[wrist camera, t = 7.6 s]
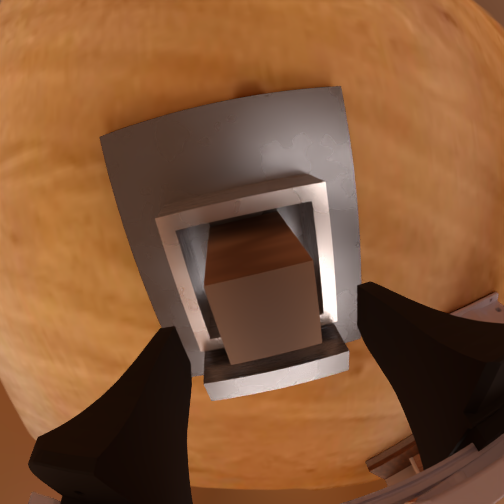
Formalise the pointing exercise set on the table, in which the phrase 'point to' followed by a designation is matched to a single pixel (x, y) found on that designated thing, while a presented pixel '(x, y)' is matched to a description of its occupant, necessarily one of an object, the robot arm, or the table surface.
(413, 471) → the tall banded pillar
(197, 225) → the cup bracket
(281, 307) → the rail post
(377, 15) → the table surface
